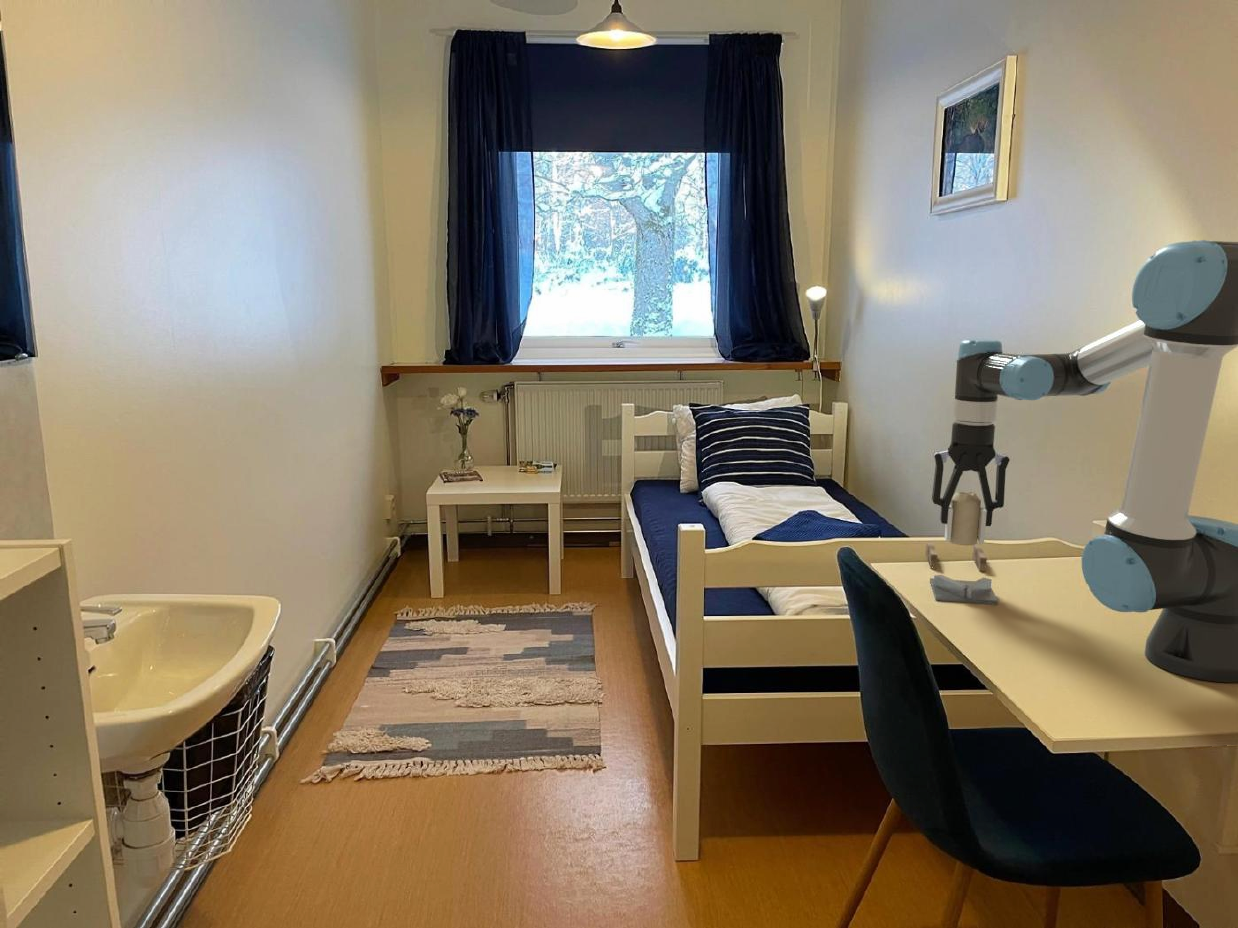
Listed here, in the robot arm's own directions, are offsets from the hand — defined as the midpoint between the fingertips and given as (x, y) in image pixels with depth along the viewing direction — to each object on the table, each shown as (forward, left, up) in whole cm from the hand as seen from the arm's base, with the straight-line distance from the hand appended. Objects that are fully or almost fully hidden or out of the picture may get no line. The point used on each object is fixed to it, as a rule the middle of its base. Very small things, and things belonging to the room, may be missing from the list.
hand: (964, 540), depth 182 cm
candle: (+2, 0, -1) cm, 2 cm away
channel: (+17, -1, -10) cm, 20 cm away
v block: (-4, 0, -10) cm, 10 cm away
